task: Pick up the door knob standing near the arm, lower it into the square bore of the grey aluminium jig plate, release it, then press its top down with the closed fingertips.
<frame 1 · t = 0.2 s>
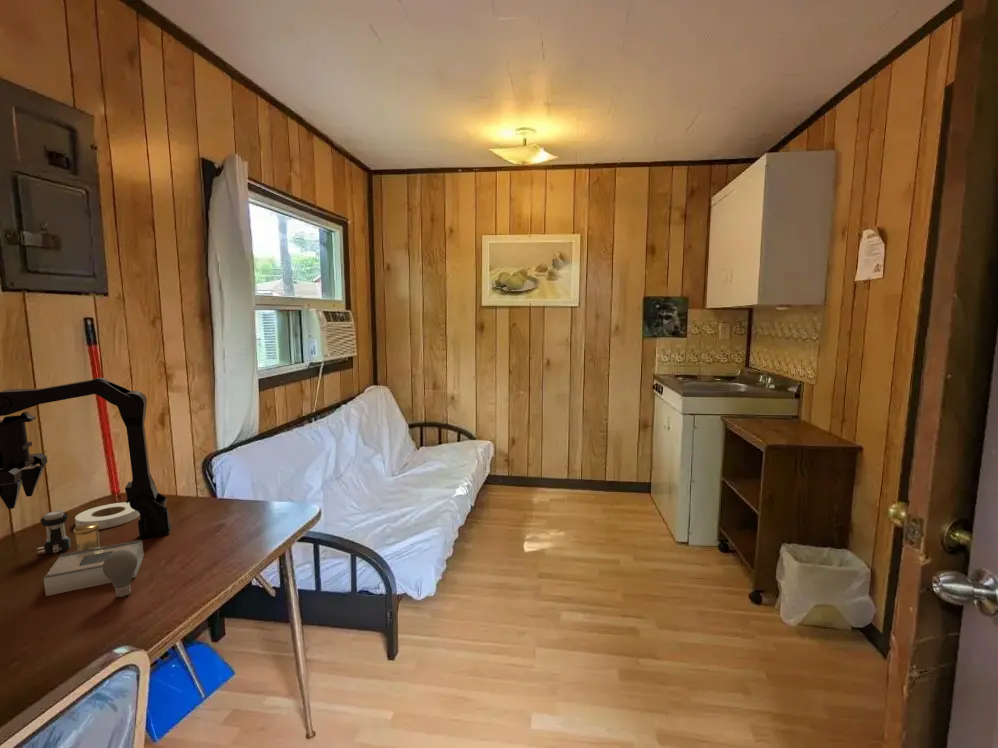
hand: (20, 502, 128), 14 cm above the table, tool pointing down, fingers open, 9 cm apart
light bulb: (123, 596, 110), on the table
door knob: (89, 557, 128), on the table
push button: (54, 551, 132), on the table
jig: (98, 574, 119), on the table
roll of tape: (109, 521, 153), on the table
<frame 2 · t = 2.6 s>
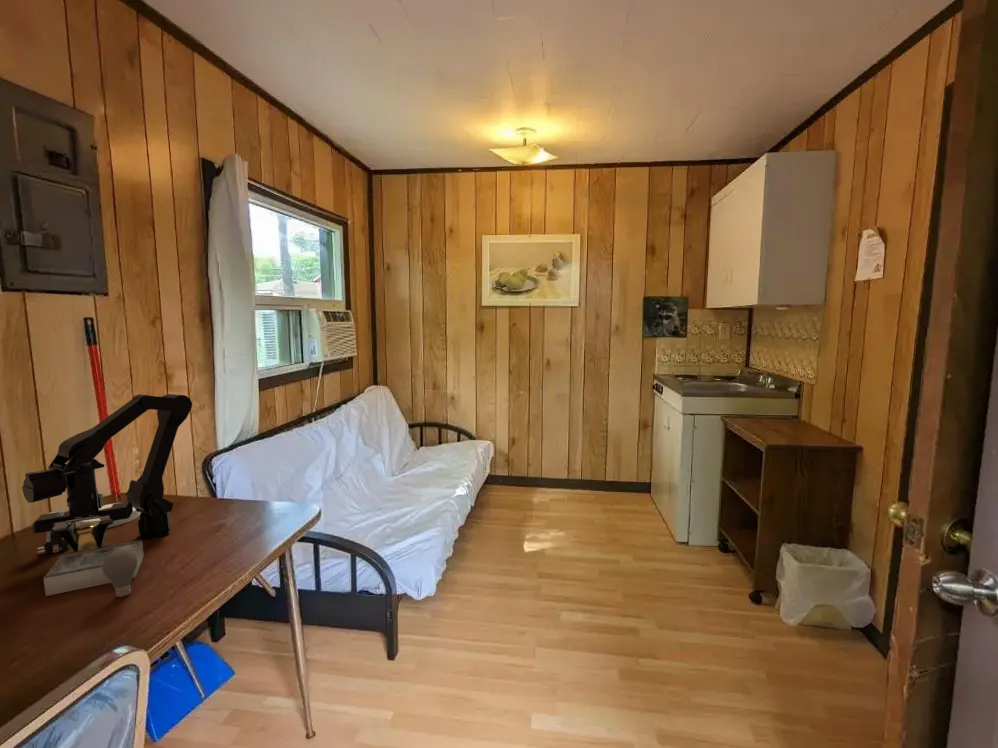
hand: (88, 549, 128), 2 cm above the table, tool pointing down, fingers closed on door knob, 4 cm apart
door knob: (89, 557, 128), on the table, touching gripper
everything else where it was.
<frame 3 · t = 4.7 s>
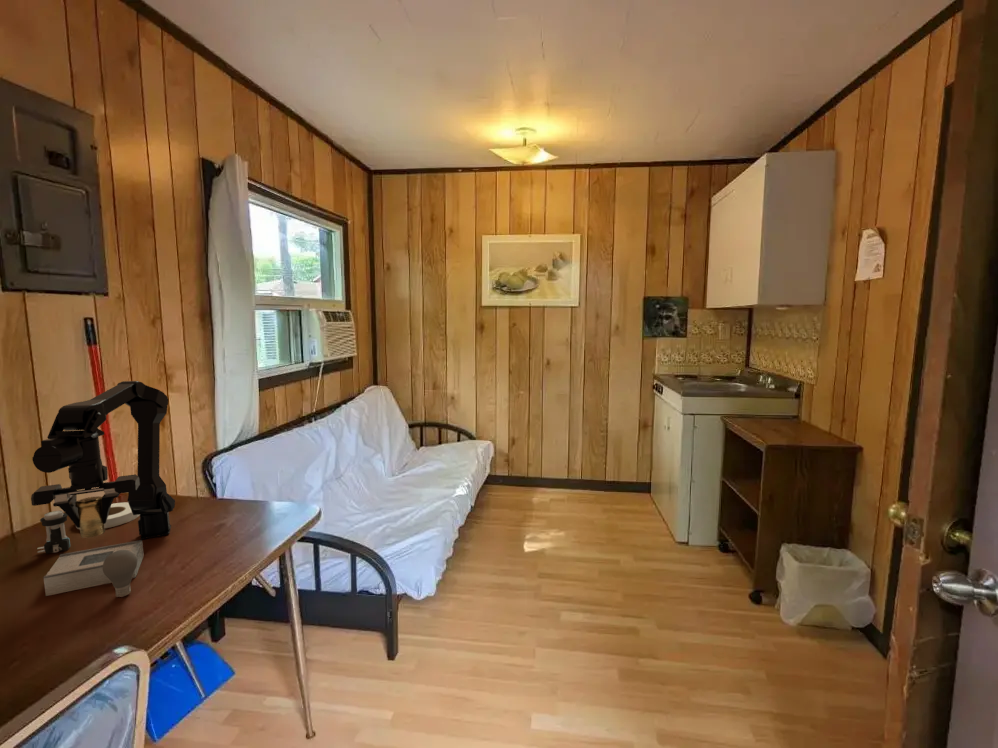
hand: (92, 525, 118), 12 cm above the table, tool pointing down, fingers closed on door knob, 4 cm apart
door knob: (93, 533, 118), point 10 cm above the table, touching gripper
everything else where it was.
when the fingers open (4 cm above the table, at t = 6.8 s): door knob drops 2 cm, resting in jig.
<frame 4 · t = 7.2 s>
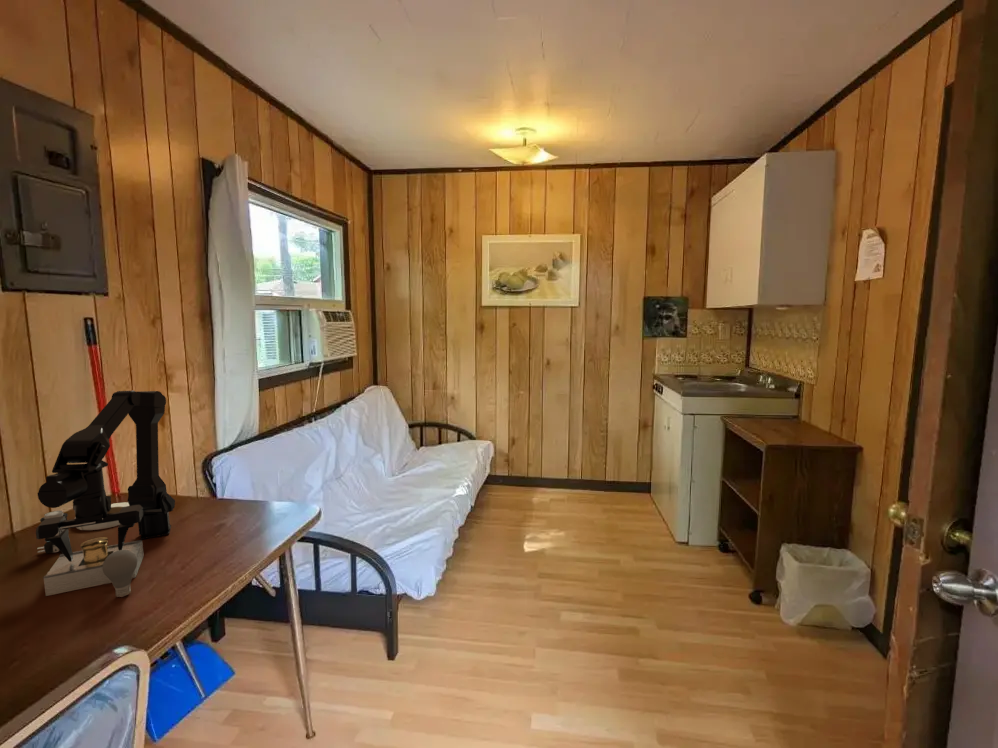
hand: (96, 556, 119), 4 cm above the table, tool pointing down, fingers open, 9 cm apart
door knob: (98, 574, 119), resting in jig
everything else where it was.
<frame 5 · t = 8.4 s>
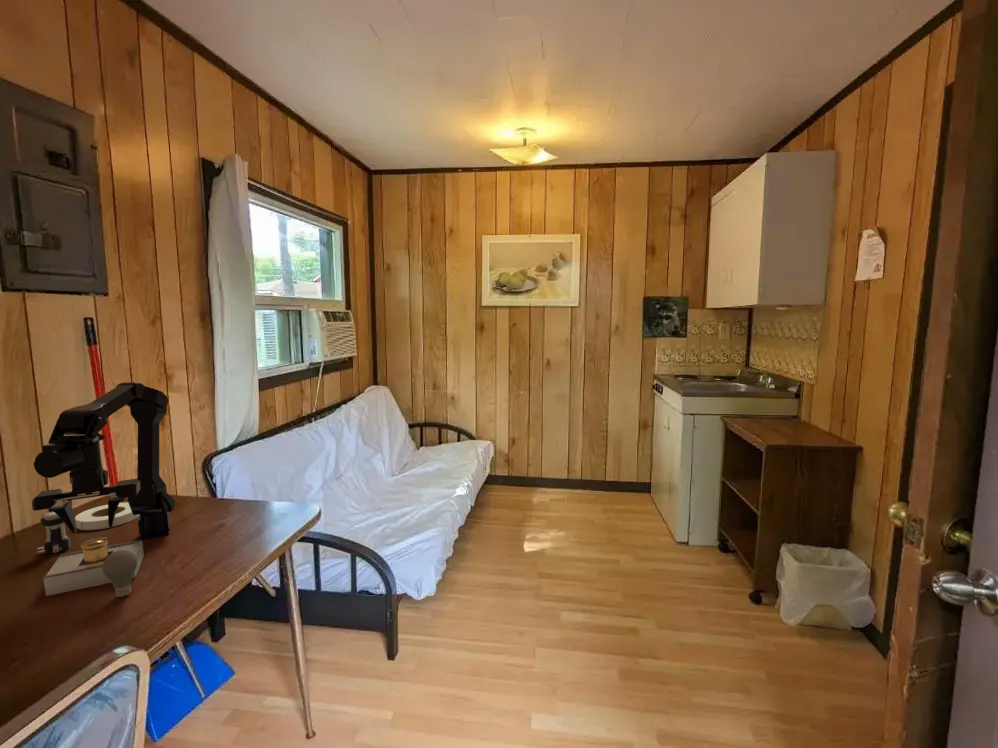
hand: (93, 529, 118), 11 cm above the table, tool pointing down, fingers open, 6 cm apart
nothing on the table moved.
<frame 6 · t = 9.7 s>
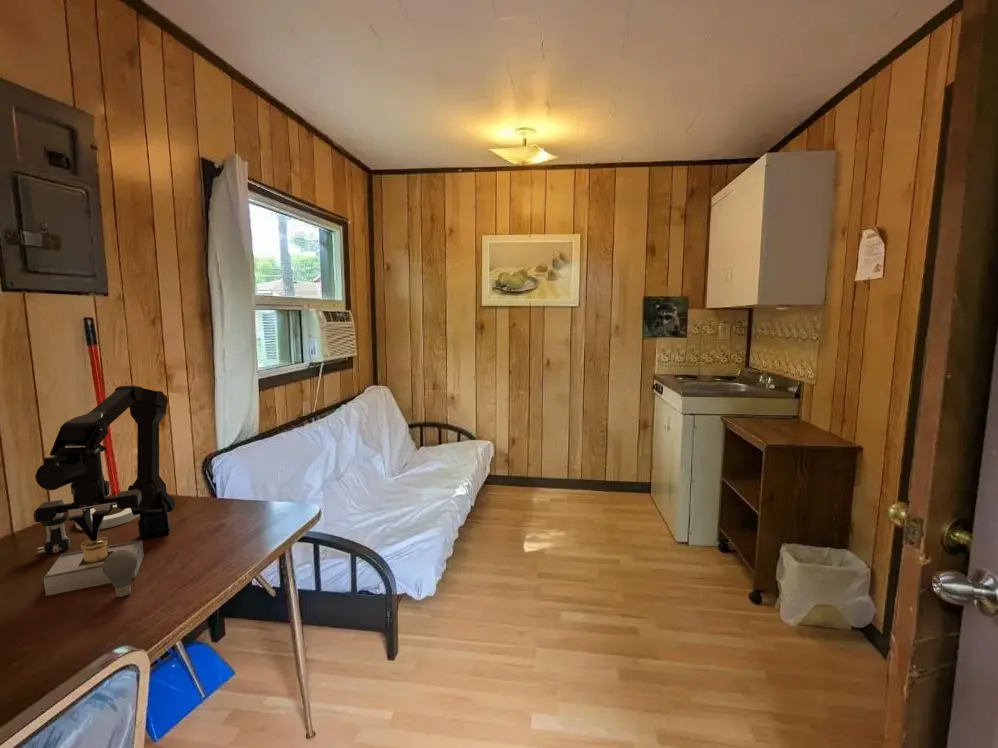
hand: (94, 540, 118), 8 cm above the table, tool pointing down, fingers closed
nothing on the table moved.
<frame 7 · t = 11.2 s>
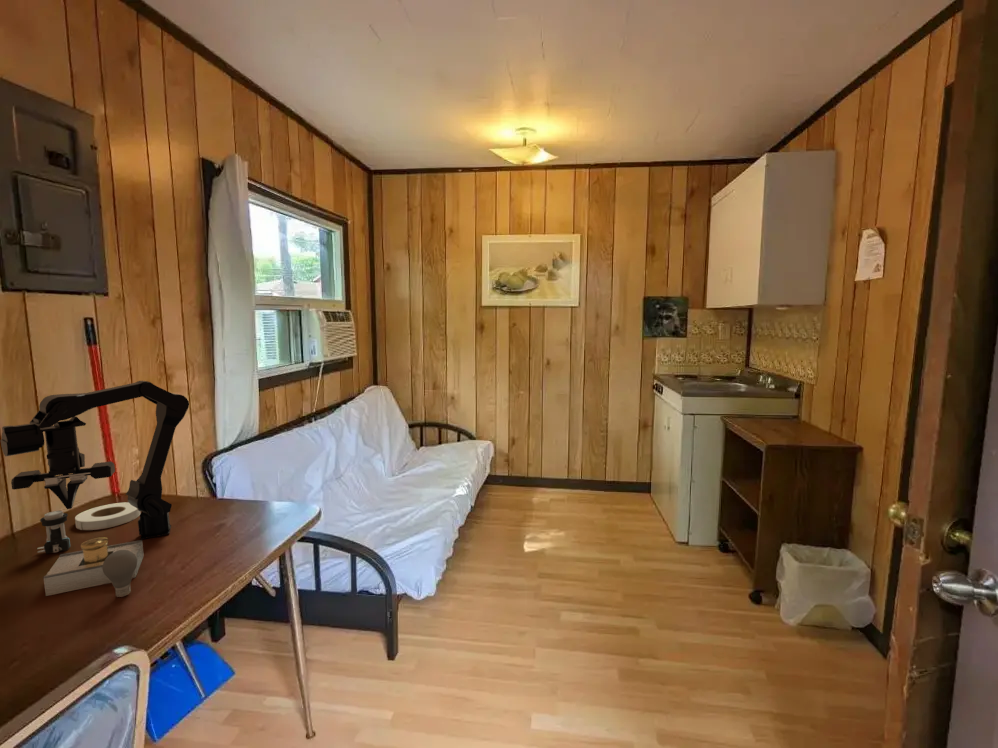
hand: (69, 508, 126), 13 cm above the table, tool pointing down, fingers closed
nothing on the table moved.
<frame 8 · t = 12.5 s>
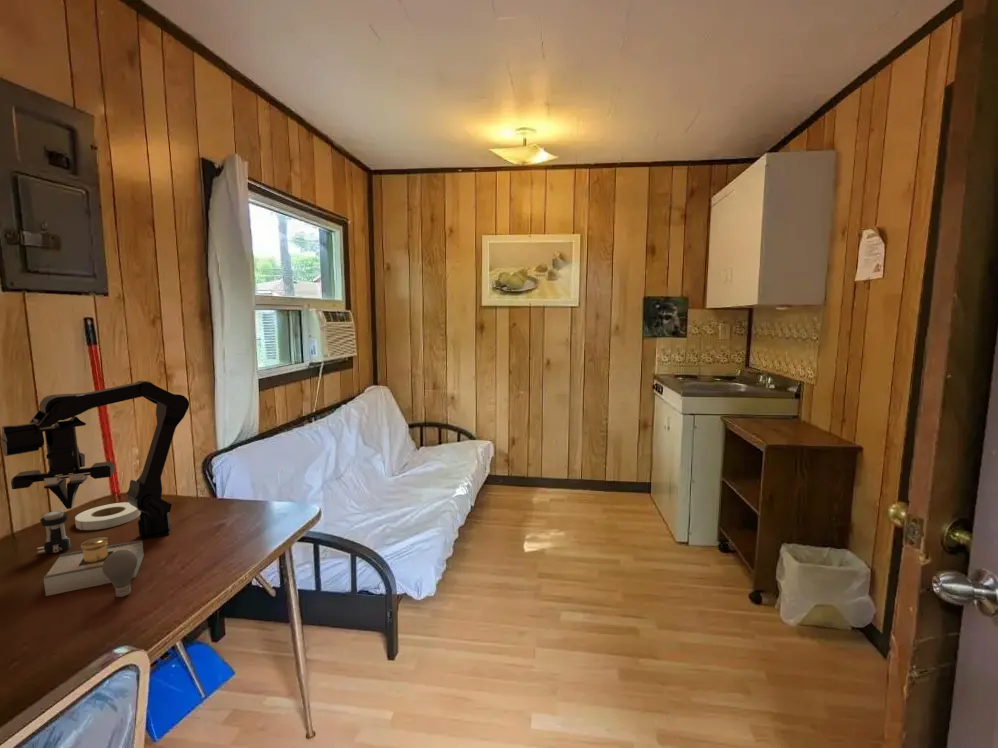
hand: (69, 508, 126), 13 cm above the table, tool pointing down, fingers closed
nothing on the table moved.
at the end: door knob 0.0 cm off-centre on the jig, point 0.0 cm above the jig's base; door knob tilted 0°; the gripper is holding nothing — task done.
